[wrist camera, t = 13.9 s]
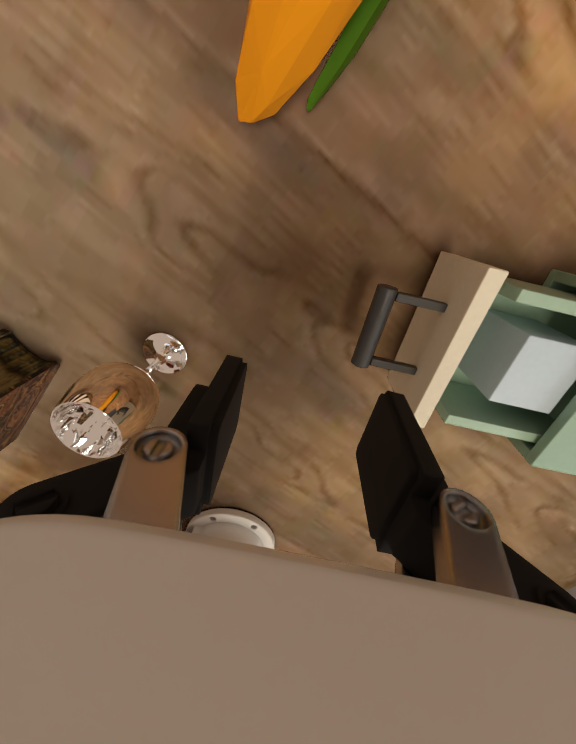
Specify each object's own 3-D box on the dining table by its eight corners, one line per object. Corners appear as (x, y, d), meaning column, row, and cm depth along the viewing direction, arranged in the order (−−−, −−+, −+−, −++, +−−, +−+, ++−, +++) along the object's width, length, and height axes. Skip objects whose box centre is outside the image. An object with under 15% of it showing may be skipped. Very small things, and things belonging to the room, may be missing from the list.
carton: (502, 373, 27) (453, 362, 26) (536, 320, 24) (482, 307, 24) (549, 414, 21) (488, 400, 21) (599, 351, 19) (530, 335, 19)
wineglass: (124, 342, 30) (22, 415, 19) (168, 315, 28) (83, 379, 18) (162, 387, 32) (89, 474, 22) (205, 364, 31) (148, 447, 20)
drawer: (336, 365, 29) (343, 410, 22) (379, 235, 23) (405, 246, 17) (522, 407, 29) (581, 463, 23) (605, 290, 24) (713, 321, 17)
